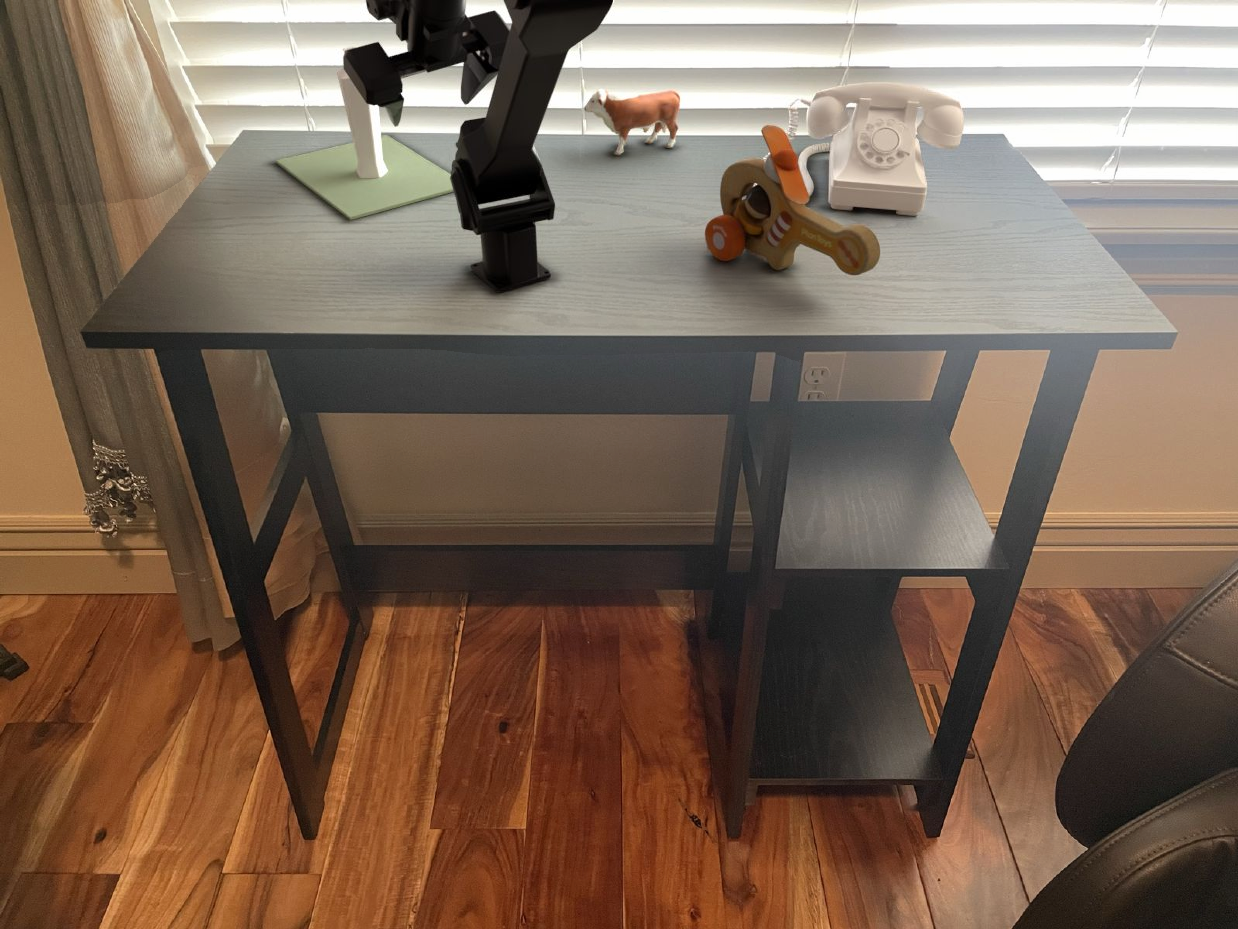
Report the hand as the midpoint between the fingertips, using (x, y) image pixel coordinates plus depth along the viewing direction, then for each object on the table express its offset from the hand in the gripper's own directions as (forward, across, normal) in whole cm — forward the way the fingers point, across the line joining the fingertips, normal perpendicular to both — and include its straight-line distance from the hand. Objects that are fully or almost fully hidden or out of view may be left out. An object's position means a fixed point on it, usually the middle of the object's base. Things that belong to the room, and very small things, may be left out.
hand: (429, 112), depth 109 cm
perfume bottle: (+13, +5, -4) cm, 15 cm away
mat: (+14, +5, -4) cm, 15 cm away
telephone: (0, -44, +29) cm, 53 cm away
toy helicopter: (-8, -20, +40) cm, 45 cm away
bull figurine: (+11, -28, +7) cm, 31 cm away
